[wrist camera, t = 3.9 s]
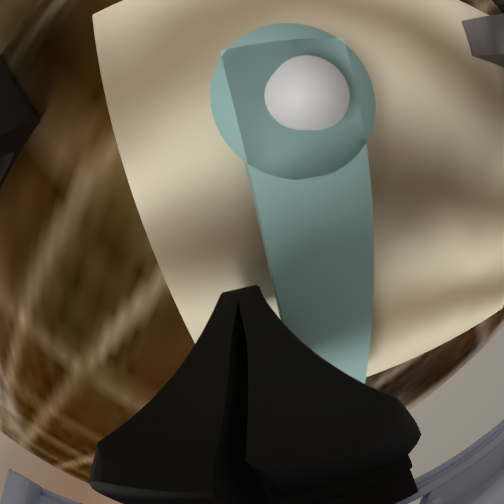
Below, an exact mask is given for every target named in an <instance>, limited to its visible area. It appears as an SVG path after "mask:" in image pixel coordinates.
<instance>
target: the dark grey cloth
mask: <svg viewBox="0 0 504 504" xmlns="http://www.w3.org/2000/svg"><path fill="white" fill-rule="evenodd" d="M493 2H494V3H495V4H496V5H497V6H499V8H500V9H501V10H502V12H503V13H504V0H493Z"/></svg>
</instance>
